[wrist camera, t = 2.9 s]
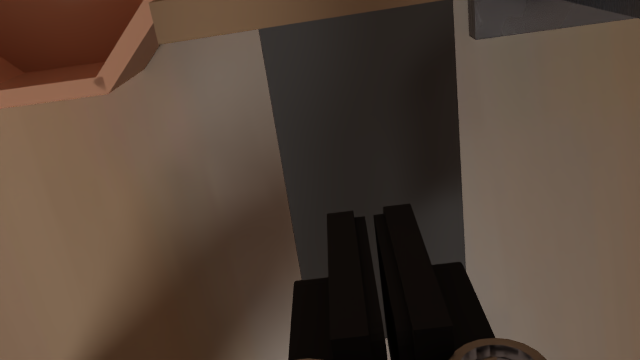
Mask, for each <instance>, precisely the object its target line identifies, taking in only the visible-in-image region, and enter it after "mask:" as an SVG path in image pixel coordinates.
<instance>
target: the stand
mask: <svg viewBox="0 0 640 360" xmlns="http://www.w3.org/2000/svg"><path fill="white" fill-rule="evenodd" d="M468 13H469V36H470V37H472V38H473V39H475V40H478V39H486V38H493V37H500V36H508V35H515V34H522V33H530V32H537V31H545V30H552V29H559V28H567V27H574V26H581V25H589V24H596V23H604V22H611V21H618V20H626V19H633V18H639V19H640V0H468Z"/></svg>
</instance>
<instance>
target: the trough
mask: <svg viewBox="0 0 640 360" xmlns="http://www.w3.org/2000/svg"><path fill="white" fill-rule="evenodd" d="M149 7H150V11H151V15H152V20H153V24H154V28H155V32H156V36H157V41H158V45H160V44H166V43H173V42H179V41H185V40H192V39H198V38H205V37H211V36H217V35H224V34H230V33H236V32H243V31H249V30H256V29H259V35H260V40H261V46H262V52H263V58H264V64H265V69H266V75H267V81H268V87H269V93H270V98H271V104H272V110H273V116H274V121H275V127H276V133H277V139H278V145H279V150H280V156H281V162H282V168H283V174H284V179H285V185H286V191H287V197H288V203H289V208H290V214H291V220H292V226H293V232H294V237H295V243H296V249H297V255H298V260H299V266H300V272H301V278H302V280H308V279H317V278H325V277H328V244H327V214H328V213H337V212H345V211H353V212H354V217H362V216H365V220H366V226H367V232H368V238H369V244H370V250H371V256H372V262H373V268H374V274H375V280H376V286H377V292H378V298H379V304H380V310H381V316H382V322H383V329H384V336H385V338H387V332H386V324H385V315H384V306H383V298H382V289H381V280H380V271H379V262H378V253H377V244H376V236H375V227H374V217H373V215H378V214H383V207H385V206H393V205H401V204H409V203H410V204H411V207H412V209H413V212H414V215H415V218H416V221H417V224H418V227H419V230H420V232H421V235H422V238H423V241H424V244H425V247H426V250H427V253H428V255H429V258H430V261H431V264H432V265H435V264H444V263H452V262H461V263H462V264H463V266H464V268H465V271H466V265H465V244H464V223H463V202H462V182H461V161H460V140H459V119H458V99H457V78H456V57H455V37H454V16H453V0H153V1H151V2H149Z"/></svg>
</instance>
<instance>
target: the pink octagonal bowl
mask: <svg viewBox="0 0 640 360" xmlns="http://www.w3.org/2000/svg"><path fill="white" fill-rule="evenodd" d="M151 1H153V0H0V109H2V108H9V107H17V106H24V105H32V104H39V103H46V102H54V101H61V100H69V99H76V98H83V97H91V96H98V95H106V94H109V93H110V92H112V91H113V90H115V89H116V88H118V87H119V86H121V85H122V84H124V83H125V82H126V81H128V80H129V79H131V78H132V77H134V76H135V75H137V74H138V73H140V72H141V71H143V70H144V69H145V67H146V66H147V64H148V62H149V61H150V59H151V58H152V56H153V55H154V53H155V52H156V50H157V49H158V47H159V45H158V41H157V36H156V32H155V28H154V24H153V20H152V15H151V11H150V7H149V2H151Z"/></svg>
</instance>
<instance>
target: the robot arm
mask: <svg viewBox="0 0 640 360" xmlns="http://www.w3.org/2000/svg"><path fill="white" fill-rule="evenodd" d="M373 217H374V227H375V236H376V244H377V253H378V262H379V271H380V280H381V289H382V298H383V306H384V315H385V324H386V332H387V339H388V346H389V352H390V357H391V360H546V359H545V358H544V357H543V356H542V355H541V354H540V353H539V352H538V351H537V350H535V349H533V348H531V347H529V346H527V345H525V344H523V343H520V342H516V341H513V340H509V339H500V338H495V336H494V334H493V331H492V329H491V327H490V325H489V322H488V320H487V318H486V316H485V313H484V311H483V309H482V307H481V304H480V302H479V300H478V298H477V295H476V293H475V291H474V289H473V286H472V284H471V282H470V280H469V277H468V275H467V273H466V271H465V268H464V266H463V264H462V263H461V262H452V263H444V264H435V265H432V264H431V261H430V258H429V255H428V253H427V250H426V247H425V244H424V241H423V238H422V235H421V232H420V230H419V227H418V224H417V221H416V218H415V215H414V212H413V209H412V207H411V204H410V203H409V204H401V205H393V206H385V207H383V214H378V215H373ZM327 244H328V277H325V278H317V279H308V280H300V281H295V282H294V290H293V304H292V317H291V331H290V344H289V358H288V360H387V351H386V343H385V336H384V329H383V322H382V316H381V310H380V304H379V298H378V292H377V286H376V280H375V274H374V268H373V262H372V256H371V250H370V244H369V238H368V232H367V226H366V220H365V216H362V217H354V212H353V211H345V212H337V213H328V214H327Z"/></svg>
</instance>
